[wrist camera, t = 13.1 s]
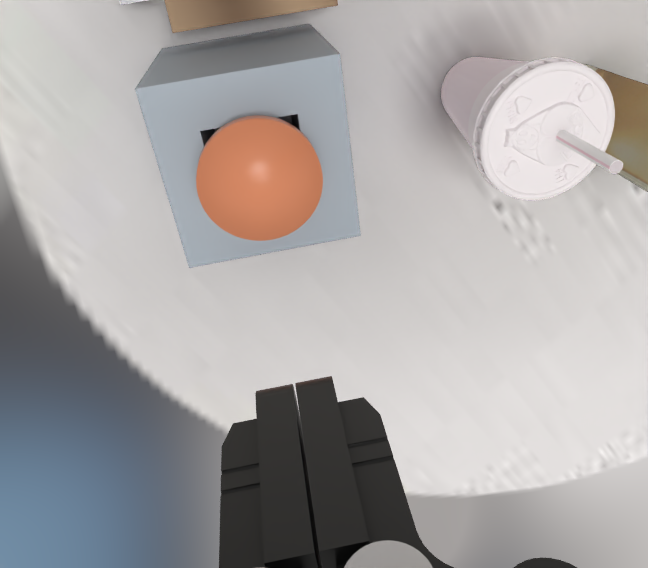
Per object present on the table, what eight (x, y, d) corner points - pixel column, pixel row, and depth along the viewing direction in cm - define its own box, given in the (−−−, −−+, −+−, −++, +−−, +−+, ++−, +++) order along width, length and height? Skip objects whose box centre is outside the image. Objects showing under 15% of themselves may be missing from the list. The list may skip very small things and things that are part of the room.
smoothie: (514, 139, 36) (656, 236, 24) (415, 146, 35) (510, 249, 23) (531, 28, 32) (706, 76, 20) (422, 33, 32) (537, 85, 20)
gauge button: (295, 74, 27) (313, 110, 21) (311, 173, 30) (330, 228, 24) (191, 92, 27) (181, 133, 21) (216, 190, 29) (213, 250, 24)
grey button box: (309, 23, 31) (339, 53, 22) (328, 164, 35) (360, 235, 26) (161, 48, 30) (134, 88, 22) (199, 188, 34) (189, 268, 26)
